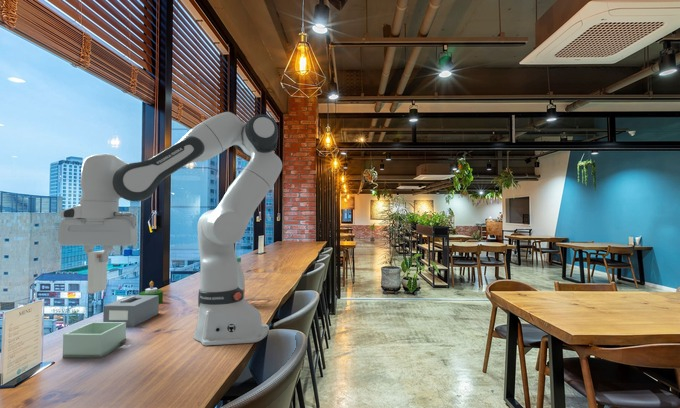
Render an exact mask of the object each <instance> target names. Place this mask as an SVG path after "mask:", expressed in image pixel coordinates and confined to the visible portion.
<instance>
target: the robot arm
mask: <svg viewBox="0 0 680 408" xmlns="http://www.w3.org/2000/svg"><path fill="white" fill-rule="evenodd" d="M278 139H279V127H278V124H277V122H276V120H275V119H273V117H271V116H270V115H268V114H267V115H266V114H263V113H261V114H255V115H254V116H251V117H250V118H249V119H248V120H247V122H244V121H243V120H241V119H240V118H239V117H238V116H237V115H236V114H234V113H233V112H231V111H224V112H220V113H218V114H216V115H214V116H213V115H212V116H211V117H209V118H207V119H205V120H203V121H201V122H200V123H198V124H196V125H195V126H194V127H192V128H191V129H190V130H188V131H187V132H186V133H185V134H184V135H183V136H182V137H181V138H180V139H179V140H178V141H177V142H176V143H175V144H173V145H171V146H169V148H166V149H164V150H163V151H161V152H159V153H158V154H156V155H154V156H152V157H151V158H149V159H147V160H143V161H138V162H137V161H136V162H131V163H128V162H126V161H124V160H123V159H121V158H120V157H118V156H117V155H116V154H112V153H98V154H92V155H89V156H87V157H86V158H84V160H83V162H82V166H81V172H80V188H81V196H80V198H79V204H78V205H75V206H73V207H70V208H69V207H68V208H66V209H63V210H61V211H60V214H59V215H60V218H61V221H60V222H59V224H58V229H57V230H58V232H57V241H58V243H59V244H60V246H83V252H84V253H85V254H86V256H87V257H88V254H89V252H94V249H95V246H96V247H97V246H98V247H99V246H102V250H105V251H104V252H103V254H102V256H99V262H107V263H108V261H109V256H110V254H111V253H112V251H113V249H114V246H115V247H116V246H119V247H120V246H121V247H124V246H125V247H128V246H135V245H136V244H137V243H138V238H139V236H138V227H137V221H138V220H137V217H136V215H135V214H133V213H132V212H129V211H128V212H127V211H126V212H123V211H122V212H121V211H119V207H120V206H119V201H120V199H123V200H126V201H130V202H142V201H145V200H147V199H149V198H151V196H153V194H154V193H155V192H156V190H157V188H158V187H159V185H160V184H161V182H162V181H163V180H165V179H166V178H167V177H169V176H171V175H172V174H173V173H175V172H178V171H179V170H180V169H182V168H184V167H185V166H186V165H189V164H191V163H198V162H201V163H202V162H206V161H208V160H211V159H213V158H214V157H217V156H218V155H220V154H222V153H223V152H225V151H226V150H228V149H229V148H230V147H232V146H233V147H234V148H235V149H236V150H238V151H239V152H241V154H243V156H245V157H247V158H249V161H248V163H247V164H246V166H245V167H244V168H243V169H242V170H241V171H240V173H239V174H238V175H237V177H235V179H234V180H232V181H233V182H231V184H230V185H229V186H228V187H227V190H226V192H225V194H224V195H223V197H222V199H221V200H220V201H219V204H218V205H217V206H216V207H215V209H209V210H207V211H205V212H204V213H203V214H201V216H200V217H199V219H198V221H197V226H196V227H197V240H198V241H197V242H198V253H199V254H198V255H199V261H200V262H199V263H200V277H199V279H200V281H199V282H200V284H199V289H198V294H197V295H198V296H197V304H198V305H197V306H198V314H197V315H198V316H197V323H196V327H195V330H194V332H193V333H194V334H193V338H194V340H196V341H198V342H200V343H201V344H202V345H203V346H218V345H219V346H220V345H234V344H251V343H258V342H260V341H262V340H263V339H265V338H266V337H267V335H269V332H270V327H269V325H268V324H265V323H263V320H262V315H261V312H260V310H259V309H257V308H256V307H255V306H254V305H252V304H251V303H249V302H248V301H247V300H246V299H243V297H244V291H245V289H246V288H245V289H243V290H241V289H240V288H239V287H238V262H237V259H236V257H237V255H236V250H235V244H236V243H238V242H239V241H241V240H242V238H244V235H245V233H246V228H247V227H248V225H249V223H250V222H251V219H252V218H253V215H254V213H255V212H256V209H258V207H259V206H260V204H261V202H262V201H263V200H264V199H265V197H266V195H268V193H269V192H270V190H271V189H272V187H273V186H274V185H275V183H276V181H277V180H278V178H279V176H280V174H281V172H282V169H283V161H282V160H281V158H280V157H279V156H278V155H277V154H276V153H275V152H274V151H275V150H276V149H277V147H278ZM245 292H246V291H245Z"/></svg>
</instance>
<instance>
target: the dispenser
mask: <svg viewBox="0 0 680 408" xmlns="http://www.w3.org/2000/svg"><path fill="white" fill-rule="evenodd" d="M159 305H160V304H159V295H140V294H137V295H136V294H130V295H128V296H125V297H124V298H121V299H118V300H114V301H112V302H110V303H107V304H104V305H103V318H102V320H103V321H102V322H126V328H127V327H136V326H138V325H139V324H141V323H143V322H145V321H147V320H149V319H151V318H153V317H155V316H157V315H159V309H160V307H159Z"/></svg>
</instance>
